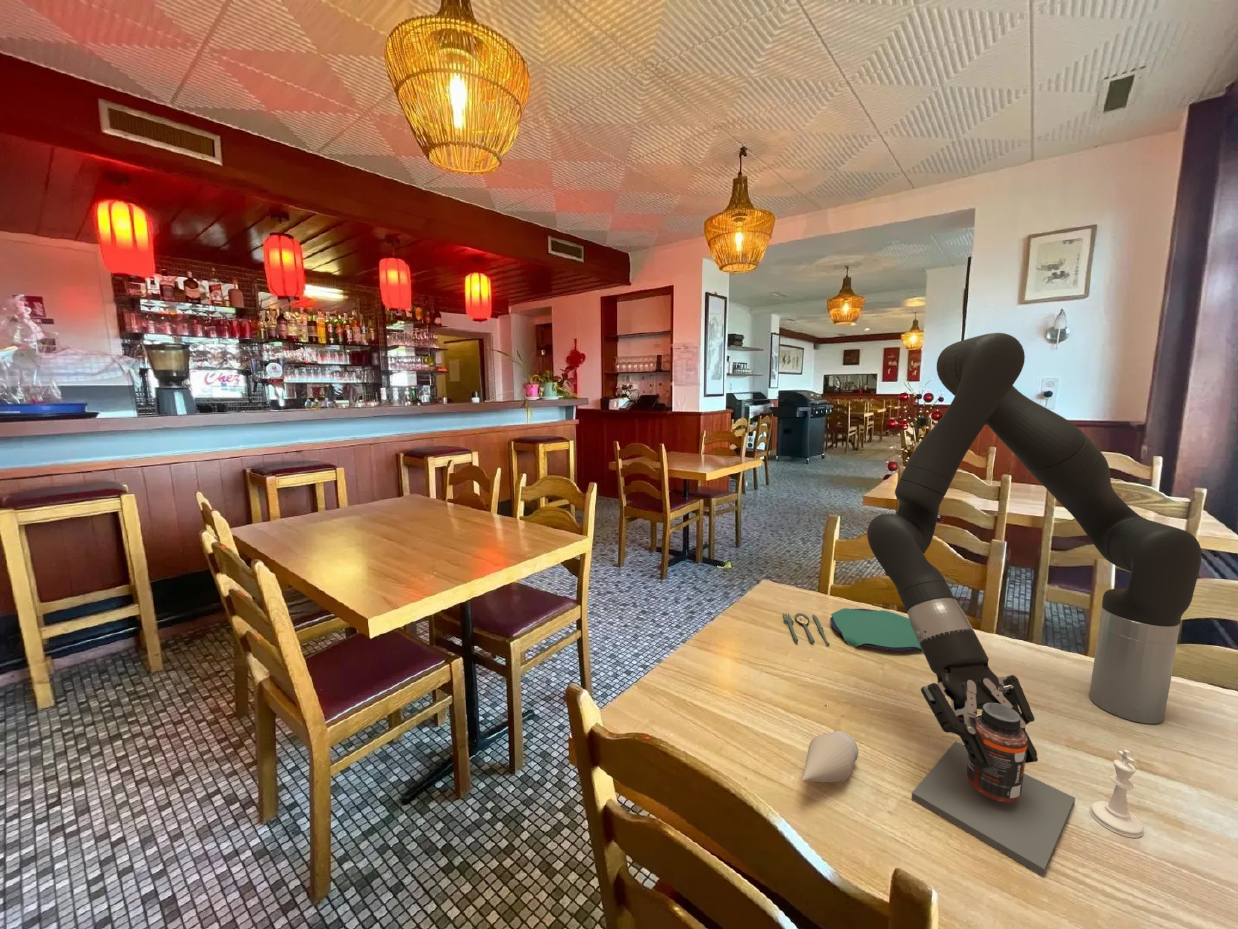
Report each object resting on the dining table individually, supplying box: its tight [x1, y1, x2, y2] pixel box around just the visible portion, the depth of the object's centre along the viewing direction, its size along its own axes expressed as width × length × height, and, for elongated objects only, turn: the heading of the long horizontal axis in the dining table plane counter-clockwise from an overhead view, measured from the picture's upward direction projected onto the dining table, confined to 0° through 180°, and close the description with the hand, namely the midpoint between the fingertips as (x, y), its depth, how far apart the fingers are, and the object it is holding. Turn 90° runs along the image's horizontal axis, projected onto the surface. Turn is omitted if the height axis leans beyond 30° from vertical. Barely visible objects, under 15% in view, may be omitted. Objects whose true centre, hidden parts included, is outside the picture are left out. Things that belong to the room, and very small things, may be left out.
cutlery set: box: [782, 607, 923, 652], centre depth 114 cm, size 20×30×2 cm, turn 80°
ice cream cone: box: [801, 730, 859, 783], centre depth 70 cm, size 6×6×15 cm
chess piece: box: [1089, 749, 1145, 839], centre depth 63 cm, size 5×5×10 cm
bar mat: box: [911, 740, 1076, 877], centre depth 67 cm, size 16×14×1 cm
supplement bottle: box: [967, 703, 1028, 803], centre depth 66 cm, size 6×6×11 cm
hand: (1008, 764), depth 64 cm, fingers closed on supplement bottle, 6 cm apart
